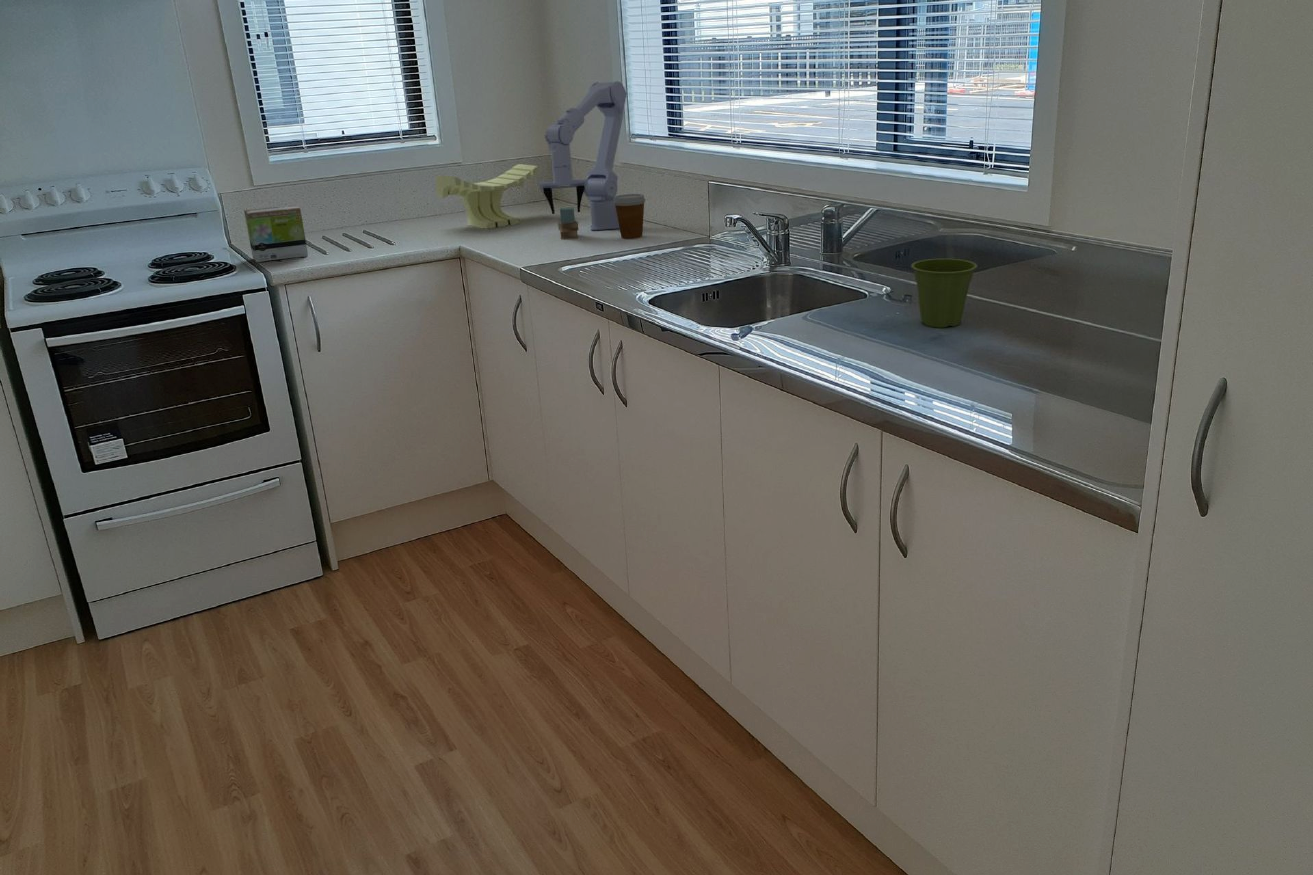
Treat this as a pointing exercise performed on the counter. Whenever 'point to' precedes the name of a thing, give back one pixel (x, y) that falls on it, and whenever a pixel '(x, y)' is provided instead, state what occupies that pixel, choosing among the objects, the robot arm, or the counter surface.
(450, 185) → the slatted curved stool
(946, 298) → the plant pot
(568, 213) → the cube
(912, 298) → the counter surface
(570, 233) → the bottom slab
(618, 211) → the disposable coffee cup
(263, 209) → the tea box
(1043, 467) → the counter surface
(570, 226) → the top slab
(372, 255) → the counter surface
